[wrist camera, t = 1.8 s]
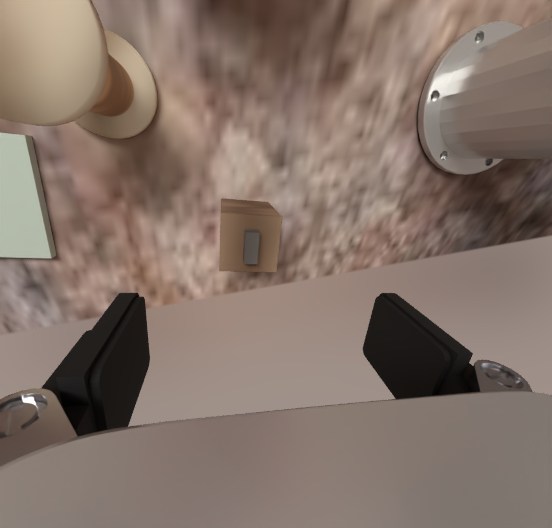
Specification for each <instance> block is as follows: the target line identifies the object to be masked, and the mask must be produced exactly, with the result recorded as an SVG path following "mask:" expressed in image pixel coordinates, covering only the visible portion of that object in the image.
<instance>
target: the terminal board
mask: <svg viewBox="0 0 552 528" xmlns="http://www.w3.org/2000/svg"><path fill="white" fill-rule="evenodd" d="M55 256H57V255H56V250H55V245H54V241H53V236H52V231H51V226H50V221H49V217H48V212H47V207H46V202H45V197H44V193H43V188H42V183H41V178H40V173H39V169H38V164H37V159H36V154H35V149H34V145H33V140H32V136H26V135H17V134H7V133H0V257H15V258H53V257H55Z"/></svg>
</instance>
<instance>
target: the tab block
mask: <svg viewBox="0 0 552 528" xmlns="http://www.w3.org/2000/svg"><path fill="white" fill-rule="evenodd" d="M281 225H282V216H281V215H280V214H279V213H278V212H277V211H276V210H275V209H274V208H273V207H272V206H271V205H270V204H269V203H268V202H260V201H246V200H233V199H221V225H220V266H219V271H238V272H276V271H277V262H278V252H279V243H280V234H281Z"/></svg>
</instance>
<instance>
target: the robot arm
mask: <svg viewBox="0 0 552 528" xmlns="http://www.w3.org/2000/svg"><path fill="white" fill-rule="evenodd" d="M418 131H419V137H420V142H421V144H422V147H423V149H424V152H425V153H426V155H427V157H428V158H429V160H430V161H431V162H432V163H433V164H434V165H435V166H436V167H438V168H440V169H441V170H443V171H445V172H449V173H453V174H463V175H468V174H476V173H479V172H482V171H485V170H487V169H489V168H491V167H493V166H495V165H497V164H498V163H499V162H500V161H502V160H503V159H552V17H550V18H548V19H546V20H543V21H541V22H538V23H536V24H534V25H531V26H529V27H527V28H523V27H521V26H519V25H516V24H514V23H512V22H504V21H497V22H491V23H486V24H484V25H482V26H479V27H477V28H475V29H473V30H471V31H469V32H468V33H466V34H464V35H462V36H461V37H459V38H458V39H457V40H456V41H455V42H453V43H452V44H451V45H450V46H449V47H448V48H447V49H446V50H445V52H444V53H443V54H442V55H441V56H440V57H439V59H438V60H437V62H436V64H435V65H434V67H433V68H432V70H431V72H430V74H429V76H428V78H427V81H426V83H425V85H424V88H423V92H422V95H421V99H420V104H419V111H418ZM363 353H364V355H365V357H366V358H367V360H368V361H369V362H370V364H371V365H372V366H373V368H374V369H375V370H376V372H377V373H378V375H379V376H380V378H381V379H382V380H383V382H384V383H385V385H386V386H387V387H388V389H389V390H390V392H391V393H392V394H393V395H394V397H395V398H396V399H392V400H382V401H370V402H359V403H349V404H338V405H327V406H317V407H306V408H296V409H286V410H276V411H266V412H256V413H246V414H236V415H227V416H216V417H206V418H197V419H186V420H176V421H166V422H159V423H152V424H144V425H137V426H130V427H128V425H129V422H130V419H131V416H132V413H133V410H134V407H135V404H136V401H137V399H138V396H139V393H140V390H141V387H142V384H143V382H144V378H145V376H146V373H147V370H148V367H149V361H150V355H149V343H148V332H147V321H146V308H145V299H144V297H139V294H138V293H119V294H118V296H117V297H116V298H115V300H114V301H113V302H112V304H111V305H110V306H109V307H108V309H107V310H106V311H105V313H104V314H103V315H102V317H101V318H100V319H99V321H98V322H97V323H96V325H95V326H94V327H93V329H92V330H89V331H86V332H85V333H84V334H83V335H82V337H81V338H80V339H79V341H78V342H77V343H76V344H75V346H74V347H73V348H72V349H71V351H70V352H69V353H68V355H67V356H66V357H65V358H64V360H63V361H62V362H61V364H60V365H59V366H58V368H57V369H56V370H55V371H54V373H53V374H52V375H51V376H50V378H49V379H48V380H47V381H46V383H45V384H44V385H43V387H42V388H41V389H28V390H23V391H19V392H16V393H14V394H11V395H8V396H6V397H4V398H2V399H0V528H552V395H548V394H543V393H535V392H532V390H531V388H530V386H529V384H528V383H527V381H526V380H525V379H524V378H523V377H522V376H521V375H519V374H518V373H516V372H515V371H513V370H512V369H510V368H508V367H506V366H504V365H501V364H499V363H496V362H493V361H489V360H478V361H476V362H475V364H474V366H472V365H471V364H470V363H469V361H470V359H471V357H472V354H473V353H471V352H470V351H469V350H468V349H466V348H465V347H464V346H462V345H461V344H460V343H459V342H457V341H456V340H455V339H454V338H452V337H451V336H450V335H449V334H447V333H446V332H445V331H443V330H442V329H441V328H439V327H438V326H437V325H436V324H434V323H433V322H432V321H431V320H429V319H428V318H427V317H425V316H424V315H423V314H422V313H420V312H419V311H418V310H416V309H415V308H414V307H412V306H411V305H410V304H409V303H407V302H406V301H405V300H404V299H402V298H401V297H399V296H398V295H397V294H395V293H382V294H380V295H379V296H378V297H377V298H376V300H375V303H374V307H373V311H372V315H371V319H370V323H369V327H368V331H367V334H366V338H365V342H364V346H363Z"/></svg>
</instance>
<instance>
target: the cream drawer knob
mask: <svg viewBox="0 0 552 528" xmlns="http://www.w3.org/2000/svg"><path fill="white" fill-rule="evenodd" d="M157 103H158V95H157V88H156V84H155V80H154V78H153V75H152V73H151V71H150V69H149V67H148V65H147V64H146V62H145V61H144V60H143V58H142V57H141V56H140V55H139V53H138V52H137V51H136V50H135V49H134V48H133V47H132V46H131V45H130V44H129V43H128V42H127V41H125V40H124V39H123V38H121V37H120V36H118V35H116V34H114V33H113V32H110V31H108V30H105V29H103V26H102V23H101V20H100V18H99V15H98V13H97V11H96V9H95V7H94V5H93V3H92V1H91V0H0V118H2V119H6V120H9V121H14V122H19V123H25V124H31V125H37V126H55V125H62V124H66V123H69V122H72V121H76V122H77V123H78V124H79V125H81V126H82V127H83V128H85V129H87V130H88V131H90V132H92V133H95V134H97V135H100V136H104V137H109V138H116V139H123V138H130V137H133V136H136V135H138V134H140V133H141V132H143V131H144V130H145V129H146V128H147V127H148V126H149V125H150V123H151V122H152V120H153V118H154V116H155V113H156V109H157Z"/></svg>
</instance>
